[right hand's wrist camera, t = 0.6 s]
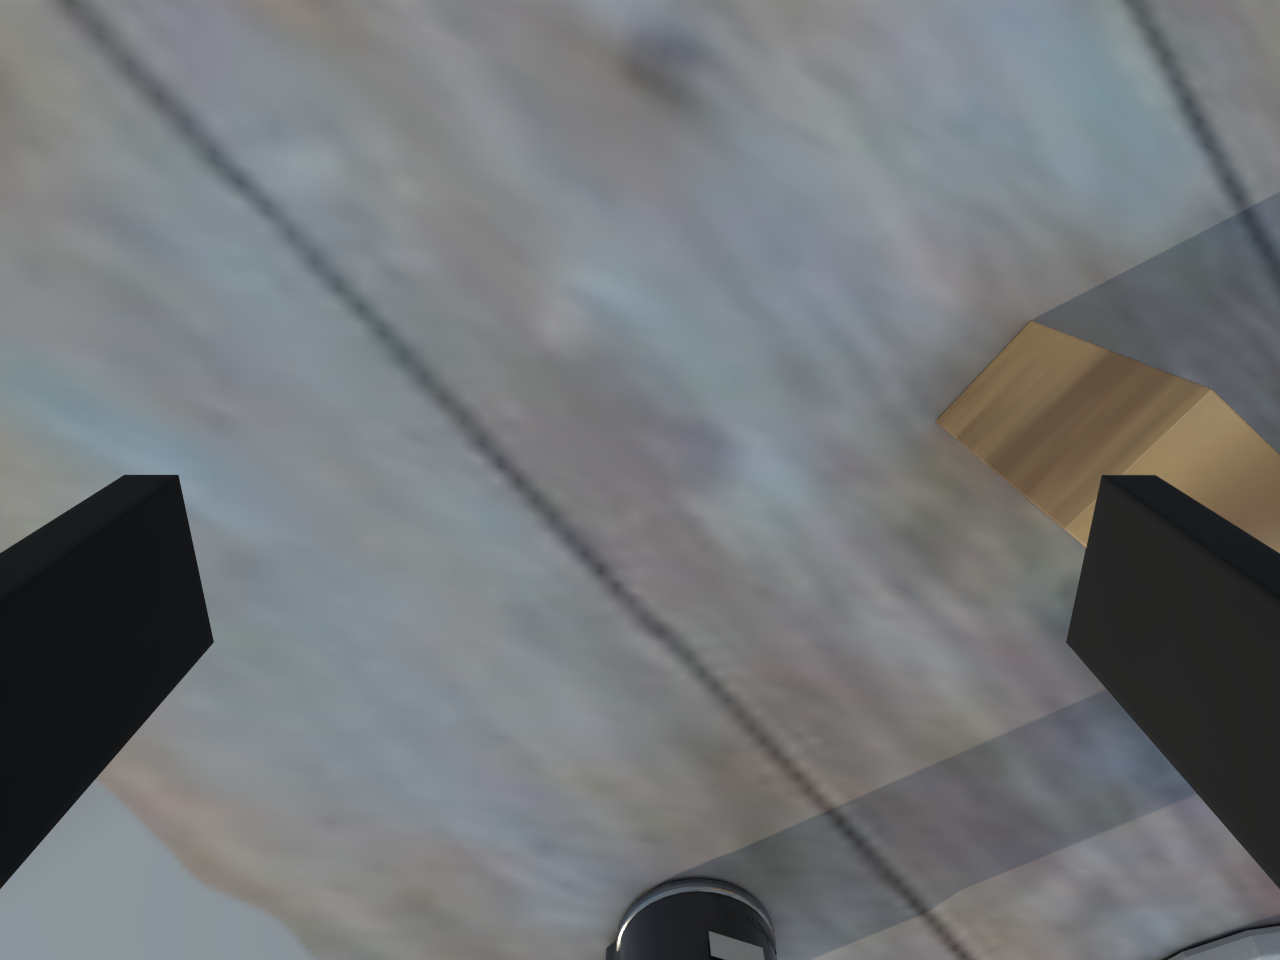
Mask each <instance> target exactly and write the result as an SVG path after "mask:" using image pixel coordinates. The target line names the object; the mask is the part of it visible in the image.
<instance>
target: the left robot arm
mask: <svg viewBox="0 0 1280 960" xmlns="http://www.w3.org/2000/svg"><path fill="white" fill-rule="evenodd" d="M776 954H777V953H776V941H775V936H774V930H773V925H772V922H771V919H770V917H769V915H768V913H767V912H766V910H765V908H764V907H763V906H762V905H761V904H760V903H759V902H758V901H757V900H756V899H755V898H754V897H753V896H751V895H750V894H749V893H747V892H745V891H744V890H742V889H740V888H738V887H736V886H733V885H731V884H727V883H724V882H720V881H715V880H708V879H688V880H680V881H675V882H671V883H668V884H665V885H662V886H659V887H657V888H655V889H653V890H651V891H649V892H647V893H646V894H644V895H643V896H641V897H640V898H639V899H637V900H636V901H635V902H634V903H633V904H632V905H631V906H630V907H629V909H628V910H627V911H626V913H625V914H624V916H623V918H622V920H621V922H620V925H619V928H618V932H617V940H616V941H615V942H614V943H613V944H612V945H610V946H609V947H607V949H606V960H777V957H776Z"/></svg>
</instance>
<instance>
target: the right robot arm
mask: <svg viewBox="0 0 1280 960" xmlns="http://www.w3.org/2000/svg"><path fill="white" fill-rule="evenodd" d="M213 643H214V641H213V636H212V632H211V627H210V622H209V618H208V613H207V608H206V603H205V599H204V594H203V589H202V584H201V580H200V575H199V570H198V566H197V561H196V556H195V551H194V547H193V542H192V537H191V532H190V528H189V523H188V518H187V514H186V509H185V504H184V499H183V495H182V490H181V485H180V480H179V476H178V475H124V476H122V477H120V478H119V479H117V480H116V481H114V482H113V483H111V484H109V485H108V486H106V487H105V488H103V489H101V490H100V491H98V492H97V493H95V494H94V495H92V496H90V497H89V498H87V499H86V500H84V501H82V502H81V503H79V504H78V505H76V506H75V507H73V508H71V509H70V510H68V511H67V512H65V513H63V514H62V515H60V516H59V517H57V518H56V519H54V520H52V521H51V522H49V523H48V524H46V525H44V526H43V527H41V528H40V529H38V530H36V531H35V532H33V533H32V534H30V535H29V536H27V537H25V538H24V539H22V540H21V541H19V542H17V543H16V544H14V545H13V546H11V547H10V548H8V549H6V550H5V551H3V552H2V553H0V889H1V887H2V886H3V885H4V884H5V883H6V882H7V881H8V879H9V878H10V877H11V876H12V875H13V874H14V872H15V871H16V870H17V869H18V868H19V867H20V865H21V864H22V863H23V862H24V861H25V860H26V859H27V857H28V856H29V855H30V854H31V853H32V852H33V851H34V849H35V848H36V847H37V846H38V845H39V844H40V842H41V841H42V840H43V839H44V838H45V837H46V835H47V834H48V833H49V832H50V831H51V830H52V829H53V827H54V826H55V825H56V824H57V823H58V822H59V820H60V819H61V818H62V817H63V816H64V815H65V814H66V812H67V811H68V810H69V809H70V808H71V807H72V805H73V804H74V803H75V802H76V801H77V800H78V799H79V797H80V796H81V795H82V794H83V793H84V792H85V790H86V789H87V788H88V787H89V786H90V785H91V783H92V782H93V781H94V780H95V779H96V778H97V777H98V775H99V774H100V773H101V772H102V771H103V770H104V768H105V767H106V766H107V765H108V764H109V763H110V762H111V760H112V759H113V758H114V757H115V756H116V755H117V753H118V752H119V751H120V750H121V749H122V748H123V747H124V745H125V744H126V743H127V742H128V741H129V740H130V738H131V737H132V736H133V735H134V734H135V733H136V731H137V730H138V729H139V728H140V727H141V726H142V725H143V723H144V722H145V721H146V720H147V719H148V718H149V716H150V715H151V714H152V713H153V712H154V711H155V710H156V708H157V707H158V706H159V705H160V704H161V703H162V701H163V700H164V699H165V698H166V697H167V696H168V695H169V693H170V692H171V691H172V690H173V689H174V688H175V686H176V685H177V684H178V683H179V682H180V681H181V679H182V678H183V677H184V676H185V675H186V674H187V673H188V671H189V670H190V669H191V668H192V667H193V666H194V664H195V663H196V662H197V661H198V660H199V659H200V658H201V656H202V655H203V654H204V653H205V652H206V651H207V649H208V648H209V647H210V646H211V645H212V644H213ZM1066 643H1067V644H1068V645H1069V646H1070V647H1071V648H1072V649H1073V651H1074V652H1075V653H1076V654H1077V655H1078V656H1079V658H1080V659H1081V660H1082V661H1083V662H1084V663H1085V664H1086V666H1087V667H1088V668H1089V669H1090V670H1091V671H1092V673H1093V674H1094V675H1095V676H1096V677H1097V678H1098V679H1099V681H1100V682H1101V683H1102V684H1103V685H1104V686H1105V688H1106V689H1107V690H1108V691H1109V692H1110V693H1111V695H1112V696H1113V697H1114V698H1115V699H1116V700H1117V701H1118V703H1119V704H1120V705H1121V706H1122V707H1123V708H1124V710H1125V711H1126V712H1127V713H1128V714H1129V715H1130V716H1131V718H1132V719H1133V720H1134V721H1135V722H1136V723H1137V725H1138V726H1139V727H1140V728H1141V729H1142V730H1143V731H1144V733H1145V734H1146V735H1147V736H1148V737H1149V738H1150V740H1151V741H1152V742H1153V743H1154V744H1155V745H1156V747H1157V748H1158V749H1159V750H1160V751H1161V752H1162V753H1163V755H1164V756H1165V757H1166V758H1167V759H1168V760H1169V762H1170V763H1171V764H1172V765H1173V766H1174V767H1175V768H1176V770H1177V771H1178V772H1179V773H1180V774H1181V775H1182V777H1183V778H1184V779H1185V780H1186V781H1187V782H1188V783H1189V785H1190V786H1191V787H1192V788H1193V789H1194V790H1195V792H1196V793H1197V794H1198V795H1199V796H1200V797H1201V799H1202V800H1203V801H1204V802H1205V803H1206V804H1207V805H1208V807H1209V808H1210V809H1211V810H1212V811H1213V812H1214V814H1215V815H1216V816H1217V817H1218V818H1219V819H1220V820H1221V822H1222V823H1223V824H1224V825H1225V826H1226V827H1227V829H1228V830H1229V831H1230V832H1231V833H1232V834H1233V835H1234V837H1235V838H1236V839H1237V840H1238V841H1239V842H1240V844H1241V845H1242V846H1243V847H1244V848H1245V849H1246V851H1247V852H1248V853H1249V854H1250V855H1251V856H1252V857H1253V859H1254V860H1255V861H1256V862H1257V863H1258V864H1259V866H1260V867H1261V868H1262V869H1263V870H1264V871H1265V872H1266V874H1267V875H1268V876H1269V877H1270V878H1271V879H1272V881H1273V882H1274V883H1275V884H1276V885H1277V886H1278V887H1279V889H1280V553H1278V552H1277V551H1275V550H1274V549H1272V548H1270V547H1269V546H1267V545H1266V544H1264V543H1263V542H1261V541H1259V540H1258V539H1256V538H1255V537H1253V536H1251V535H1250V534H1248V533H1247V532H1245V531H1244V530H1242V529H1240V528H1239V527H1237V526H1236V525H1234V524H1232V523H1231V522H1229V521H1228V520H1226V519H1224V518H1223V517H1221V516H1220V515H1218V514H1217V513H1215V512H1213V511H1212V510H1210V509H1209V508H1207V507H1205V506H1204V505H1202V504H1201V503H1199V502H1198V501H1196V500H1194V499H1193V498H1191V497H1190V496H1188V495H1186V494H1185V493H1183V492H1182V491H1180V490H1179V489H1177V488H1175V487H1174V486H1172V485H1171V484H1169V483H1167V482H1166V481H1164V480H1163V479H1161V478H1160V477H1158V476H1156V475H1102V476H1101V480H1100V485H1099V490H1098V495H1097V499H1096V504H1095V509H1094V514H1093V518H1092V523H1091V528H1090V532H1089V537H1088V542H1087V547H1086V551H1085V556H1084V561H1083V566H1082V570H1081V575H1080V580H1079V584H1078V589H1077V594H1076V599H1075V603H1074V608H1073V613H1072V618H1071V622H1070V627H1069V632H1068V636H1067V641H1066Z"/></svg>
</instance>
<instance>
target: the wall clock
mask: <svg viewBox="0 0 1280 960" xmlns="http://www.w3.org/2000/svg"><path fill="white" fill-rule="evenodd" d="M1168 960H1280V926H1275V927H1268V928H1261V929H1254V930H1247V931H1244V932H1241V933H1238V934H1235V935H1232V936H1229V937H1226V938H1223V939H1220V940H1217V941H1214V942H1211V943H1208V944H1205V945H1202V946H1198V947H1195V948H1192V949H1189V950H1186V951H1183V952H1181V953H1179V954H1177V955H1176V956H1174V957H1172V958H1170V959H1168Z"/></svg>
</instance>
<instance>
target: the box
mask: <svg viewBox="0 0 1280 960" xmlns="http://www.w3.org/2000/svg"><path fill="white" fill-rule="evenodd" d="M936 422H937V423H938V424H940V425H941V426H942V427H943V428H944V429H945V430H947V431H948V432H949V433H950V434H951V435H953V436H954V437H955V438H956V439H957V440H958V441H960V442H961V443H962V444H963V445H964V446H965V447H967V448H968V449H969V450H970V451H971V452H972V453H974V454H975V455H976V456H977V457H978V458H980V459H981V460H982V461H983V462H984V463H985V464H987V465H988V466H989V467H990V468H991V469H992V470H994V471H995V472H996V473H997V474H998V475H1000V476H1001V477H1002V478H1003V479H1004V480H1005V481H1007V482H1008V483H1009V484H1010V485H1011V486H1012V487H1014V488H1015V489H1016V490H1017V491H1018V492H1019V493H1021V494H1022V495H1023V496H1024V497H1025V498H1027V499H1028V500H1029V501H1030V502H1031V503H1032V504H1034V505H1035V506H1036V507H1037V508H1038V509H1039V510H1041V511H1042V512H1043V513H1044V514H1045V515H1047V516H1048V517H1049V518H1050V519H1051V520H1052V521H1054V522H1055V523H1056V524H1057V525H1058V526H1059V527H1061V528H1062V529H1063V530H1064V531H1065V532H1066V533H1068V534H1069V535H1070V536H1071V537H1072V538H1074V539H1075V540H1076V541H1077V542H1078V543H1079V544H1081V545H1082V546H1083V547H1084V548H1085V549H1086V547H1087V542H1088V537H1089V532H1090V528H1091V523H1092V518H1093V514H1094V509H1095V504H1096V499H1097V495H1098V490H1099V485H1100V480H1101V476H1102V475H1156V476H1158V477H1160V478H1161V479H1163V480H1164V481H1166V482H1167V483H1169V484H1171V485H1172V486H1174V487H1175V488H1177V489H1179V490H1180V491H1182V492H1183V493H1185V494H1186V495H1188V496H1190V497H1191V498H1193V499H1194V500H1196V501H1198V502H1199V503H1201V504H1202V505H1204V506H1205V507H1207V508H1209V509H1210V510H1212V511H1213V512H1215V513H1217V514H1218V515H1220V516H1221V517H1223V518H1224V519H1226V520H1228V521H1229V522H1231V523H1232V524H1234V525H1236V526H1237V527H1239V528H1240V529H1242V530H1244V531H1245V532H1247V533H1248V534H1250V535H1251V536H1253V537H1255V538H1256V539H1258V540H1259V541H1261V542H1263V543H1264V544H1266V545H1267V546H1269V547H1270V548H1272V549H1274V550H1275V551H1277V552H1278V553H1280V454H1279V453H1278V452H1277V451H1276V450H1275V449H1274V448H1273V447H1272V446H1271V445H1270V444H1269V443H1267V442H1266V441H1265V440H1264V439H1263V438H1262V437H1261V436H1260V435H1259V434H1258V433H1257V432H1256V431H1255V430H1254V429H1253V428H1252V427H1251V426H1250V425H1249V424H1248V423H1247V422H1246V421H1245V420H1244V419H1243V418H1241V417H1240V416H1239V415H1238V414H1237V413H1236V412H1235V411H1234V410H1233V409H1232V408H1231V407H1230V406H1229V405H1228V404H1227V403H1226V402H1225V401H1224V400H1223V399H1222V398H1221V397H1220V396H1219V395H1218V394H1216V393H1215V392H1214V391H1213V390H1212V389H1210V388H1207V387H1205V386H1202V385H1200V384H1197V383H1194V382H1192V381H1189V380H1186V379H1184V378H1181V377H1179V376H1176V375H1173V374H1171V373H1168V372H1165V371H1163V370H1160V369H1158V368H1155V367H1152V366H1150V365H1147V364H1144V363H1142V362H1139V361H1137V360H1134V359H1131V358H1129V357H1126V356H1124V355H1121V354H1118V353H1116V352H1113V351H1110V350H1108V349H1105V348H1103V347H1100V346H1097V345H1095V344H1092V343H1089V342H1087V341H1084V340H1082V339H1079V338H1076V337H1074V336H1071V335H1068V334H1066V333H1063V332H1061V331H1058V330H1055V329H1053V328H1050V327H1048V326H1045V325H1042V324H1040V323H1037V322H1034V321H1030V322H1029V323H1028V324H1027V325H1026V326H1025V328H1024V329H1023V330H1022V331H1021V332H1020V333H1019V334H1018V335H1017V336H1016V337H1015V338H1014V339H1013V340H1012V341H1011V342H1010V343H1009V344H1008V345H1007V346H1006V347H1005V349H1004V350H1003V351H1002V352H1001V353H1000V354H999V355H998V356H997V357H996V358H995V359H994V360H993V361H992V362H991V363H990V364H989V365H988V366H987V367H986V369H985V370H984V371H983V372H982V373H981V374H980V375H979V376H978V377H977V378H976V379H975V380H974V381H973V382H972V383H971V384H970V385H969V386H968V387H967V388H966V390H965V391H964V392H963V393H962V394H961V395H960V396H959V397H958V398H957V399H956V400H955V401H954V402H953V403H952V404H951V405H950V406H949V407H948V408H947V410H946V411H945V412H944V413H943V414H942V415H941V416H940V417H939V418H938V419H937V420H936Z"/></svg>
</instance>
